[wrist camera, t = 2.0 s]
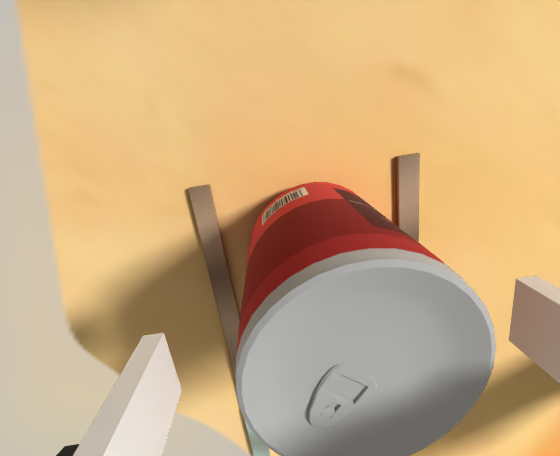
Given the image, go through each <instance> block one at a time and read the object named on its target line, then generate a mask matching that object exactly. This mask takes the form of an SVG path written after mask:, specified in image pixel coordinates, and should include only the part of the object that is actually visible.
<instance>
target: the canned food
mask: <svg viewBox="0 0 560 456" xmlns="http://www.w3.org/2000/svg"><path fill="white" fill-rule="evenodd" d="M495 349H496V343H495V334H494V326H493V323H492V321H491V318H490V316H489V313H488V310H487V308H486V306H485V305H484V303H483V302H482V301H481V299H480V298H479V297H478V296H477V294H476V293H475V292H474V290H473V289H472V288H470V287H469V286H468V285H467V284H466V282H465V281H464V280H463V278H462V277H461V276H459V275H458V274H457V273H455V272H454V271H453V270H452V269H450V268H449V267H448V266H447V265H445V264H444V263H443V262H442V261H441V260H440V259H439V258H438V257H436V256H435V255H434V254H432V253H431V252H430V251H429V250H427V249H426V248H425V247H423V246H422V245H421V244H420V243H418V242H417V241H416V240H414V239H413V238H412V237H411V236H409V235H408V234H407V233H405V232H404V231H403V230H401V229H400V228H399V227H398V226H396V225H395V224H394V223H392V222H391V221H390V220H389V219H387V218H386V217H385V216H383V215H382V214H381V213H379V212H378V211H377V210H376V209H374V208H373V207H372V206H370V205H369V204H368V203H366V202H365V201H364V200H363V199H361V198H360V197H359V196H357V195H356V194H355V193H354V192H352V191H351V190H349V189H347V188H344V187H342V186H340V185H336V184H332V183H327V182H313V183H307V184H302V185H299V186H296V187H293V188H291V189H288V190H287V191H285V192H283V193H282V194H280V195H279V196H277V197H276V198H275V199H274V200H273V201H271V202H270V203H269V204H268V205H267V206H266V207H265V209H264V210H263V212H262V213H261V214H260V216H259V217H258V219H257V221H256V224H255V226H254V228H253V231H252V235H251V239H250V246H249V254H248V262H247V269H246V277H245V285H244V292H243V300H242V308H241V315H240V323H239V331H238V344H237V352H236V394H237V399H238V403H239V407H240V411H241V413H242V415H243V417H244V419H245V421H246V423H247V425H248V427H249V428H250V429H251V431H252V432H253V433H254V434H255V435H256V436H257V437H258V439H259V440H260V441H261V442H262V443H263V444H265V445H266V446H268V447H269V448H270V449H272V450H273V451H274V452H276V453H277V454H279V455H281V456H409V455H411V454H413V453H415V452H418V451H420V450H422V449H424V448H425V447H427V446H429V445H430V444H432V443H433V442H435V441H437V440H438V439H440V438H441V437H443V436H444V435H445V434H446V433H447V432H449V431H450V430H451V429H452V428H453V427H455V426H456V425H457V424H458V423H459V422H460V421H461V420H462V419H463V418H464V417H465V415H466V414H467V413H468V412H469V411H470V410H471V409H472V407H473V406H474V405H475V403H476V402H477V400H478V399H479V397H480V395H481V394H482V392H483V390H484V389H485V387H486V385H487V382H488V379H489V377H490V374H491V371H492V368H493V364H494V357H495Z"/></svg>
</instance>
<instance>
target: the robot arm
mask: <svg viewBox="0 0 560 456" xmlns="http://www.w3.org/2000/svg"><path fill="white" fill-rule="evenodd" d="M509 341H510V342H512V343H513V344H514V345H515V346H516V347H517V348H519V349H520V350H521V351H522V352H523V353H524V354H525V355H527V356H528V357H529V358H530V359H531V360H532V361H534V362H535V363H536V364H537V365H538V366H539V367H540V368H542V369H543V370H544V371H545V372H546V373H547V374H549V375H550V376H551V377H552V378H553V379H554V380H555V381H557V382H558V383H559V384H560V288H559V287H557V286H555V285H553V284H551V283H549V282H548V281H546V280H544V279H542V278H540V277H538V276H531V277H524V278H517V279H516V284H515V292H514V301H513V309H512V318H511V326H510V335H509ZM181 392H182V389H181V386H180V382H179V379H178V376H177V373H176V370H175V367H174V363H173V360H172V357H171V354H170V351H169V348H168V345H167V341H166V338H165V335H164V333H157V334H150V335H144V336H143V337H142V338H141V340H140V342H139V343H138V345H137V347H136V349H135V350H134V352H133V354H132V355H131V357H130V359H129V361H128V362H127V364H126V366H125V367H124V369H123V371H122V373H121V374H120V376H119V378H118V380H117V381H116V383H115V385H114V386H113V388H112V390H111V391H110V393H109V395H108V397H107V398H106V400H105V402H104V403H103V405H102V407H101V409H100V410H99V412H98V414H97V415H96V417H95V419H94V420H93V422H92V424H91V426H90V427H89V429H88V431H87V432H86V434H85V436H84V438H83V439H82V441H81V443H80V444H77V445H71V446H65V447H64V448H63V449H62V450H61V451H60V452H59V453H58V454H57V455H56V456H161V455H162V452H163V449H164V446H165V443H166V440H167V436H168V433H169V430H170V426H171V424H172V420H173V417H174V414H175V411H176V408H177V404H178V401H179V398H180V395H181Z"/></svg>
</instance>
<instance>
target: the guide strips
mask: <svg viewBox="0 0 560 456" xmlns="http://www.w3.org/2000/svg"><path fill="white" fill-rule="evenodd" d="M419 165H420V154H419V153H415V154H409V155H402V156H397V221H398V227H399V228H400V229H401V230H403V231H404V232H405V233H407V234H408V235H409V236H411V237H412V238H413V239H414V240H416V241H417V242H418V240H419ZM188 190H189V194H190V198H191V202H192V206H193V210H194V214H195V218H196V222H197V226H198V230H199V234H200V238H201V242H202V246H203V251H204V255H205V259H206V263H207V267H208V271H209V275H210V279H211V283H212V287H213V291H214V295H215V299H216V303H217V307H218V311H219V315H220V319H221V323H222V327H223V331H224V335H225V339H226V343H227V347H228V351H229V355H230V359H231V363H232V367H233V371H234V375H235V379H236V352H237V344H238V331H239V323H240V318H239V314H238V309H237V305H236V300H235V296H234V291H233V287H232V282H231V278H230V273H229V269H228V264H227V260H226V255H225V251H224V246H223V242H222V237H221V233H220V228H219V224H218V219H217V215H216V210H215V206H214V201H213V197H212V192H211V188H210V185H203V186H196V187H190V188H188ZM245 423H246V421H245ZM246 427H247V431H248V435H249V439H250V443H251V447H252V451H253V455H254V456H271V455H270V450H269V447H268V446H266V445H265V444H263V443H262V442H261V441H260V440H259V439H258V437H257V436H256V435H255V434H254V433H253V432H252V431H251V429H250V428H249V427H248V425H247V423H246ZM415 453H416V452H415Z"/></svg>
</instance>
